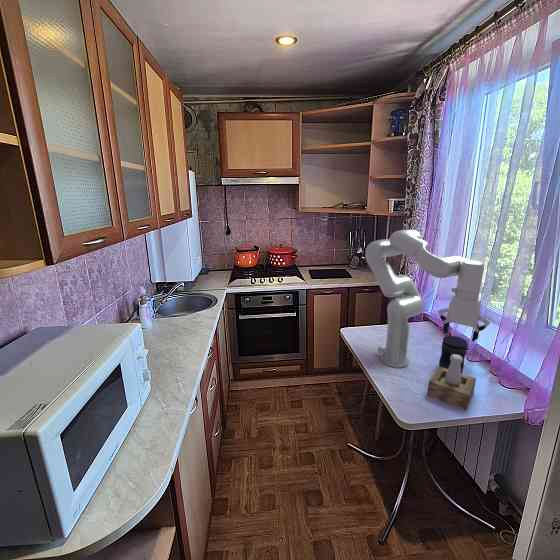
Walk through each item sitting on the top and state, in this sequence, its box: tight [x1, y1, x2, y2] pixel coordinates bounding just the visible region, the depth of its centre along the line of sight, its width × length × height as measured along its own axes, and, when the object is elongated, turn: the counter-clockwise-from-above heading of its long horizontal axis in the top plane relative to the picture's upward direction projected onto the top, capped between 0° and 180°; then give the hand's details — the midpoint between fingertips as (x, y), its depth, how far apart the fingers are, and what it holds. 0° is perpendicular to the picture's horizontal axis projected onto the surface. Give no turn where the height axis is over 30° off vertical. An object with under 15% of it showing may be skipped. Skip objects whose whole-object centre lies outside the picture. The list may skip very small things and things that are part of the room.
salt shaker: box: [445, 354, 463, 387], centre depth 127 cm, size 6×6×13 cm
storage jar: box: [438, 335, 469, 374], centre depth 144 cm, size 10×10×15 cm
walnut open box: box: [426, 365, 477, 411], centre depth 129 cm, size 14×14×7 cm
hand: (459, 336), depth 123 cm, fingers open, 9 cm apart
